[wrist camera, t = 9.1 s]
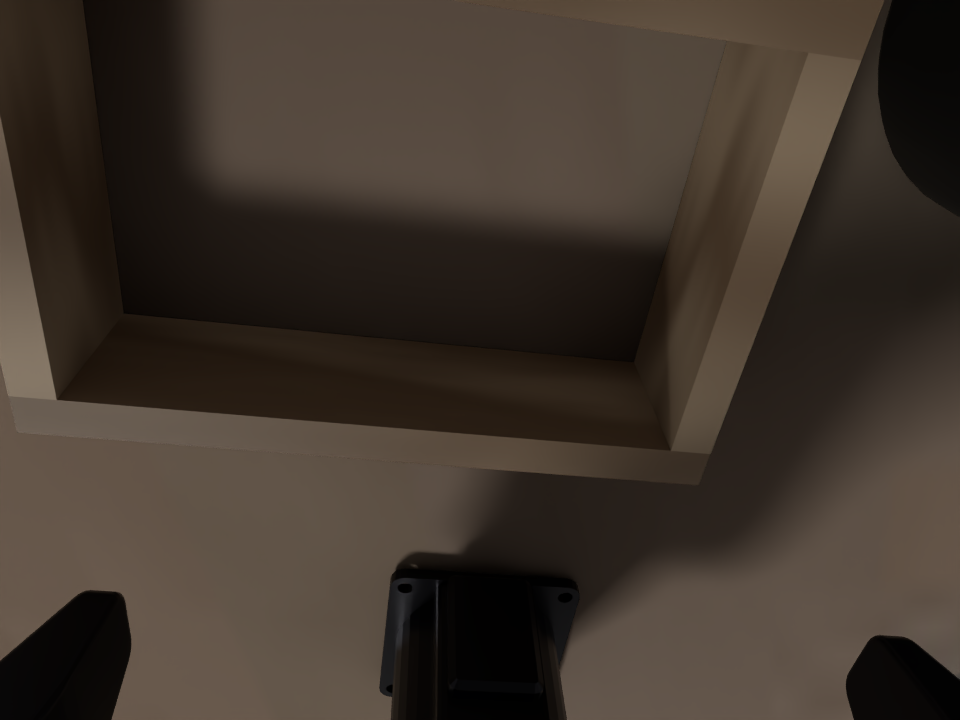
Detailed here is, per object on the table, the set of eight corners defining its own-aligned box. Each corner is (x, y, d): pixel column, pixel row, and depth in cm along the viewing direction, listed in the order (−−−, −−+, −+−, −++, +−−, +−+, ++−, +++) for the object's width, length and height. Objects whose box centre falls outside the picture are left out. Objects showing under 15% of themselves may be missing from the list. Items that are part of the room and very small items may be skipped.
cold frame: (658, 393, 22) (698, 485, 18) (89, 342, 20) (17, 432, 17) (791, -22, 16) (884, -1, 13) (10, -145, 14) (-125, -160, 11)
